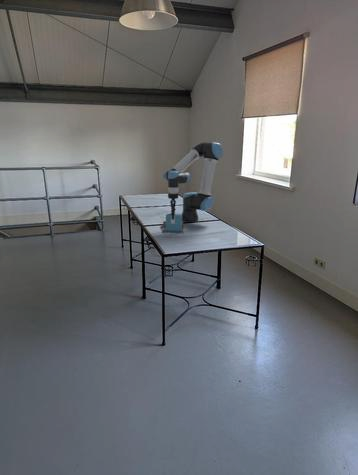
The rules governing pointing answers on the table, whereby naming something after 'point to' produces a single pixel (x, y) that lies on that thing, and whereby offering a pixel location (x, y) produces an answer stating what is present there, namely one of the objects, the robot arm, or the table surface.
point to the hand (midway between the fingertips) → (172, 221)
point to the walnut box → (165, 224)
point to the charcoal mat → (171, 231)
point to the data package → (177, 225)
